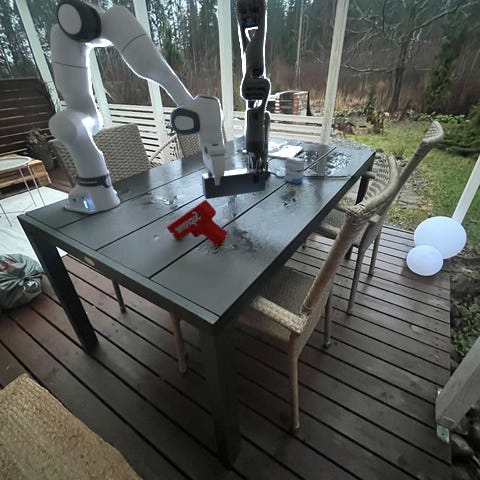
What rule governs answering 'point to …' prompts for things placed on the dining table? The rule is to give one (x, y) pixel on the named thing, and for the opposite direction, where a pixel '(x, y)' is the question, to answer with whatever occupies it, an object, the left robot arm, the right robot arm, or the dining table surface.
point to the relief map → (282, 150)
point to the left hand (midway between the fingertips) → (214, 180)
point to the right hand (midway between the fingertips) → (253, 180)
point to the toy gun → (198, 224)
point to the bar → (233, 183)
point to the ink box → (294, 170)
